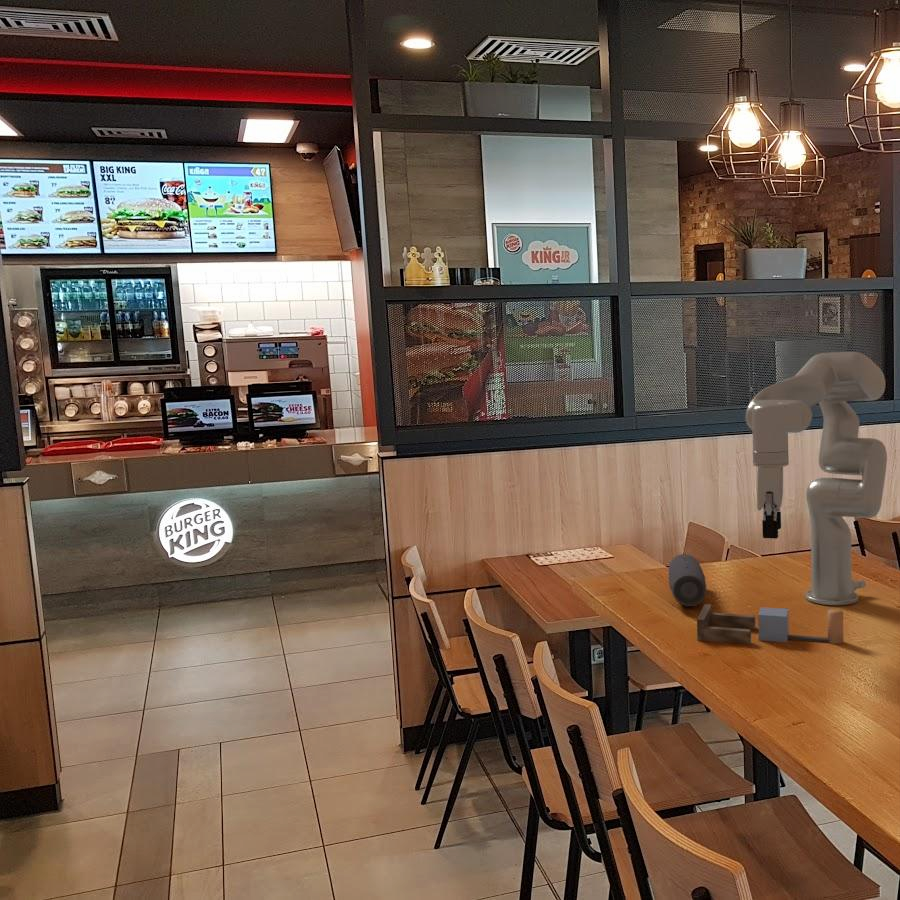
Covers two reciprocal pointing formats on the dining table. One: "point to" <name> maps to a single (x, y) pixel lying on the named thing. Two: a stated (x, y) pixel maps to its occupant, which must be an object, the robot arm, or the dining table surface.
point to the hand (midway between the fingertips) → (772, 533)
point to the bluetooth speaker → (687, 580)
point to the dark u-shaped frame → (724, 626)
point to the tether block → (777, 626)
